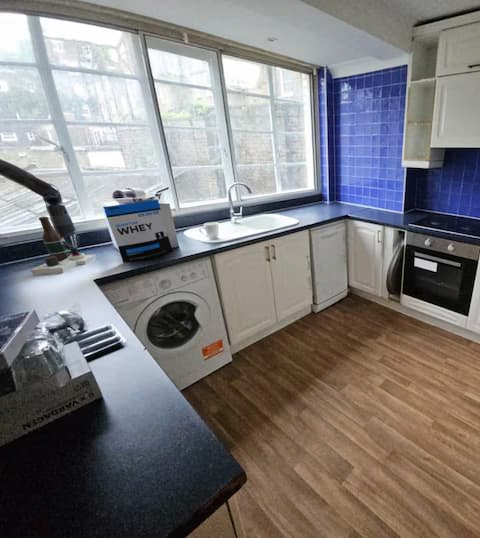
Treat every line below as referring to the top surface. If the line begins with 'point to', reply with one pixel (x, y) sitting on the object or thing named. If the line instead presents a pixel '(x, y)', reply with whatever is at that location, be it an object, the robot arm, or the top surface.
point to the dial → (51, 261)
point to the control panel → (54, 268)
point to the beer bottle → (53, 241)
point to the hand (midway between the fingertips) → (76, 254)
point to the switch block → (81, 258)
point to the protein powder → (139, 230)
